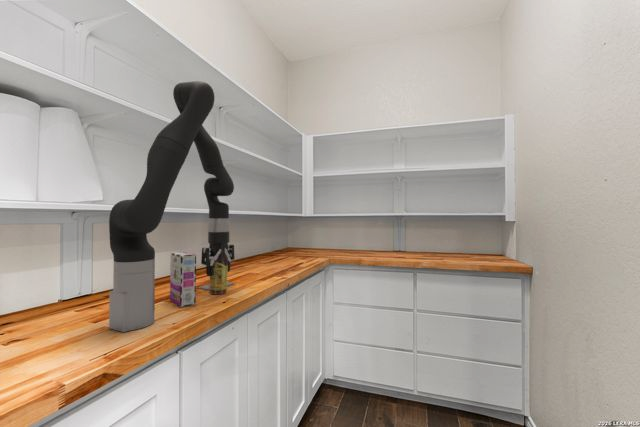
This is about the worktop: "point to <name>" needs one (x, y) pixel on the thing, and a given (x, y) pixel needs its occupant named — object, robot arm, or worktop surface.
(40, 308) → the worktop surface
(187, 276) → the candy bar box
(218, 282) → the sauce bottle
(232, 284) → the rubber mat
